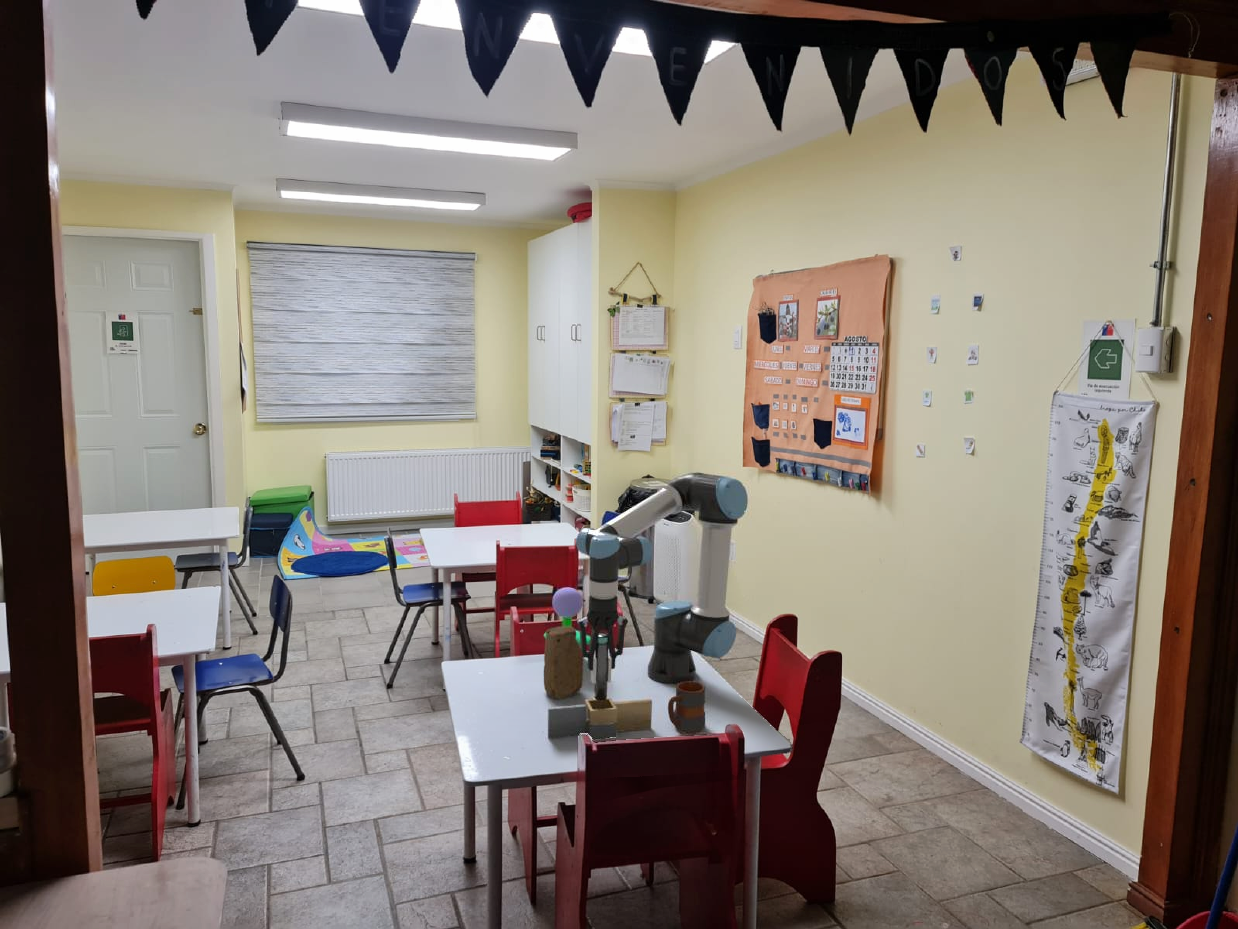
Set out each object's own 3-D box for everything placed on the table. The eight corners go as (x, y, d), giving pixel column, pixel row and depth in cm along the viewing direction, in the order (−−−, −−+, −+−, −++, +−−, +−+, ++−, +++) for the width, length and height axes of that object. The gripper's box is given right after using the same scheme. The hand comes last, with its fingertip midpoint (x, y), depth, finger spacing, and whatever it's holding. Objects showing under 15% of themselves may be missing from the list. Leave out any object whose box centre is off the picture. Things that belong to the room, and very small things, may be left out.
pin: (605, 694, 229) (607, 633, 227) (608, 699, 226) (609, 637, 223) (592, 695, 228) (594, 634, 226) (595, 700, 225) (597, 638, 223)
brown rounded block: (551, 701, 248) (551, 635, 245) (541, 691, 254) (542, 626, 251) (585, 695, 252) (586, 630, 250) (575, 686, 259) (576, 622, 256)
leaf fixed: (610, 726, 233) (610, 697, 232) (616, 738, 226) (617, 708, 225) (545, 731, 229) (546, 702, 228) (550, 744, 222) (550, 714, 221)
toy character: (598, 665, 276) (599, 589, 272) (567, 674, 268) (569, 596, 264) (568, 651, 288) (570, 578, 284) (538, 659, 280) (539, 585, 276)
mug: (657, 728, 232) (658, 687, 230) (690, 717, 239) (691, 677, 238) (678, 741, 225) (680, 698, 224) (711, 729, 233) (713, 688, 231)
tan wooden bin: (646, 721, 235) (647, 694, 234) (654, 733, 229) (655, 705, 227) (584, 727, 231) (584, 699, 230) (589, 739, 224) (590, 711, 223)
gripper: (630, 589, 229) (627, 673, 232) (569, 592, 225) (567, 677, 228) (637, 597, 222) (634, 684, 225) (574, 600, 218) (573, 688, 221)
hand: (600, 680), depth 226 cm, fingers closed on pin, 3 cm apart
